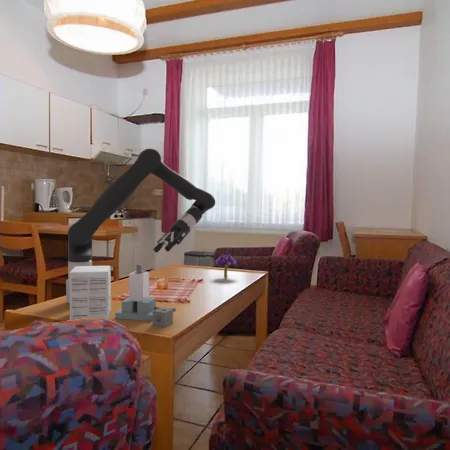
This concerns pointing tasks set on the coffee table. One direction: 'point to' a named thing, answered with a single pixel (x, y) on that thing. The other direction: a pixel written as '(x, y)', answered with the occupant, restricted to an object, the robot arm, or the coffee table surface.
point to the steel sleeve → (138, 286)
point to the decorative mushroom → (226, 261)
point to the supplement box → (90, 292)
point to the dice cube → (162, 317)
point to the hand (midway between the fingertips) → (160, 250)
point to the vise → (138, 306)
